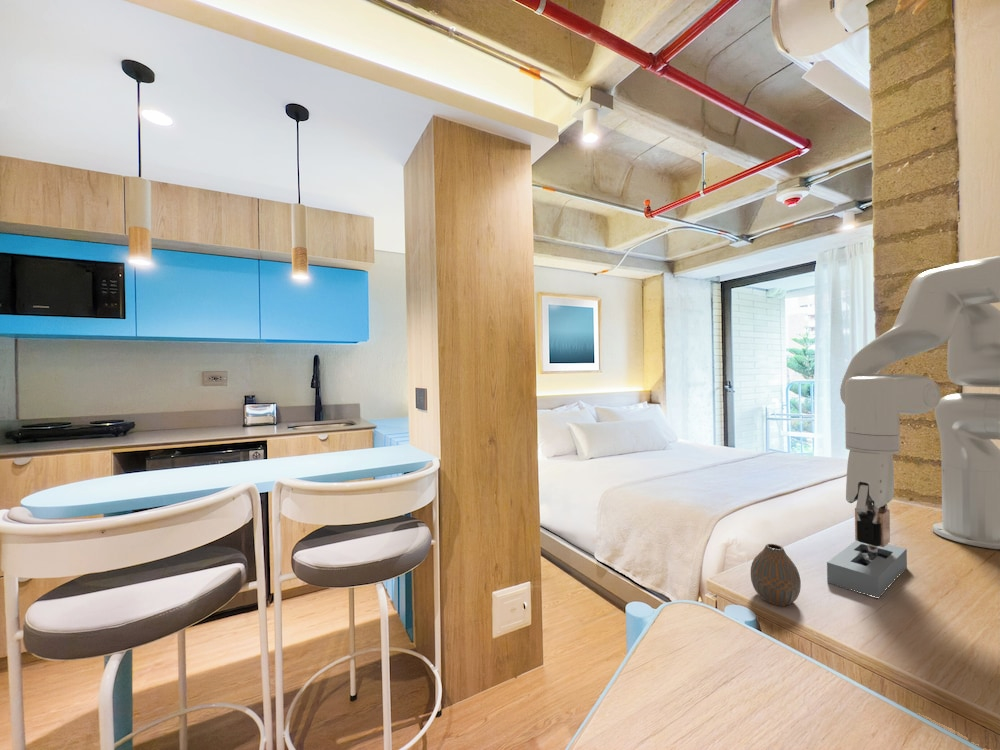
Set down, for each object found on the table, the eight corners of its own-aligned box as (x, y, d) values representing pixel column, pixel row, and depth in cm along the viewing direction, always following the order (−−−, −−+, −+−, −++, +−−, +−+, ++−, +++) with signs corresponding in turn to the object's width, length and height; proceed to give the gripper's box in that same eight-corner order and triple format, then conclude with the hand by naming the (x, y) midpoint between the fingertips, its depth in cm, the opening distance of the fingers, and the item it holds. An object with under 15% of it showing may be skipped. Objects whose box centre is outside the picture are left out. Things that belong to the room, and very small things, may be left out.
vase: (795, 593, 70) (795, 541, 70) (805, 615, 64) (805, 558, 64) (748, 585, 73) (747, 535, 73) (753, 605, 67) (752, 551, 67)
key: (862, 555, 80) (861, 504, 80) (890, 563, 77) (889, 509, 77) (855, 561, 78) (854, 508, 78) (883, 569, 75) (883, 514, 75)
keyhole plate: (860, 555, 84) (860, 537, 84) (906, 567, 78) (906, 548, 78) (827, 582, 73) (827, 562, 73) (877, 599, 68) (877, 577, 68)
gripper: (860, 435, 85) (861, 524, 85) (830, 445, 76) (831, 545, 76) (911, 440, 79) (912, 536, 79) (885, 451, 69) (886, 560, 70)
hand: (872, 539), depth 77 cm, fingers closed on key, 4 cm apart
